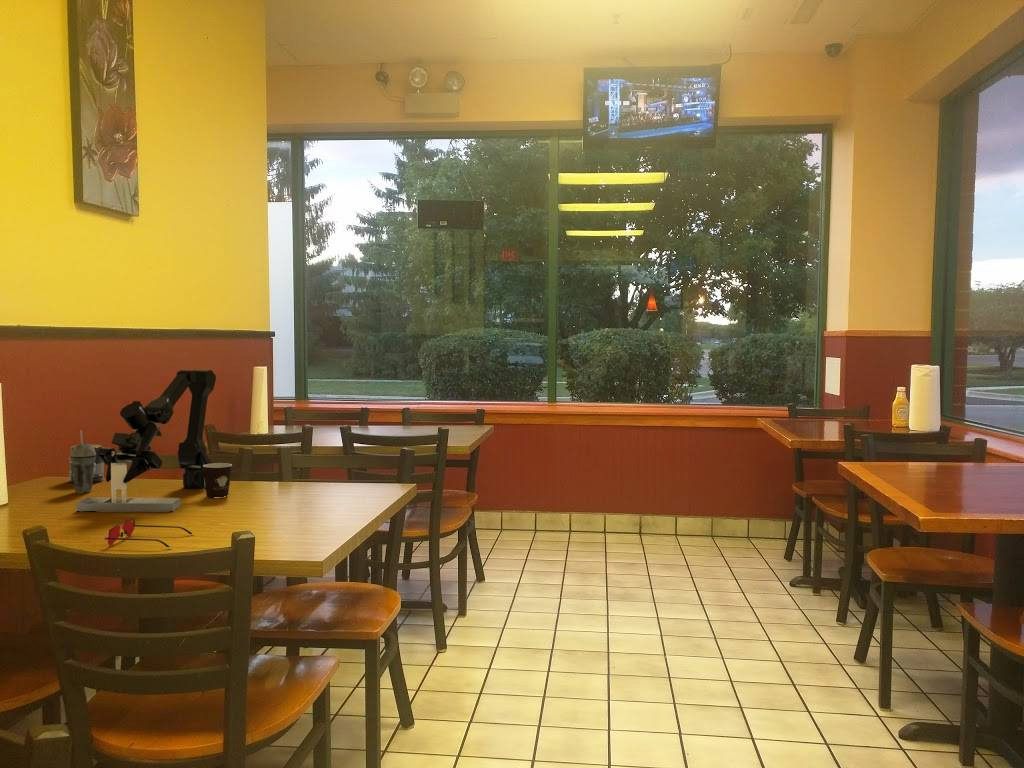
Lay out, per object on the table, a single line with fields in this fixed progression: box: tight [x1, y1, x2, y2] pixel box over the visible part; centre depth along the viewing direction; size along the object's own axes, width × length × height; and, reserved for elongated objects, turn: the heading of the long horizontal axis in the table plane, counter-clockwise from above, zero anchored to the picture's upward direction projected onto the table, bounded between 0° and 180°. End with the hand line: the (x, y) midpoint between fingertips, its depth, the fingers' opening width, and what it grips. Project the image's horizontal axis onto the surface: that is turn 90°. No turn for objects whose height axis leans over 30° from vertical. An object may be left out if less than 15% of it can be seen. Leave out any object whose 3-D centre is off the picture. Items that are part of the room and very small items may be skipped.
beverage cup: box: [69, 429, 96, 494], centre depth 253 cm, size 7×7×20 cm
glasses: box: [103, 518, 193, 548], centre depth 197 cm, size 14×16×5 cm
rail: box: [75, 497, 181, 513], centre depth 231 cm, size 26×8×2 cm, turn 98°
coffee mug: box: [192, 462, 233, 499], centre depth 252 cm, size 12×9×10 cm
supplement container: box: [68, 444, 105, 484], centre depth 271 cm, size 10×10×12 cm
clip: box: [110, 462, 128, 503], centre depth 231 cm, size 4×4×12 cm
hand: (115, 481), depth 229 cm, fingers closed on clip, 5 cm apart
